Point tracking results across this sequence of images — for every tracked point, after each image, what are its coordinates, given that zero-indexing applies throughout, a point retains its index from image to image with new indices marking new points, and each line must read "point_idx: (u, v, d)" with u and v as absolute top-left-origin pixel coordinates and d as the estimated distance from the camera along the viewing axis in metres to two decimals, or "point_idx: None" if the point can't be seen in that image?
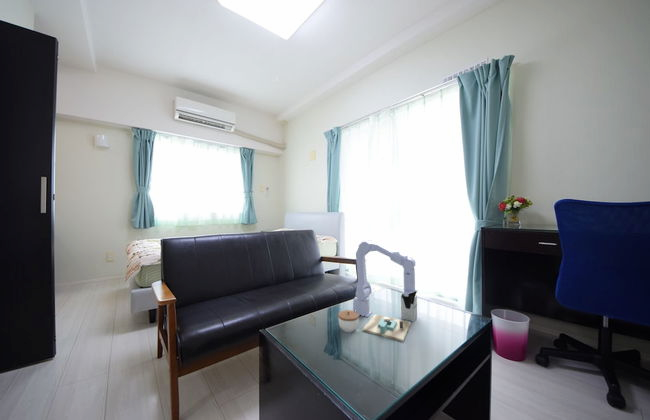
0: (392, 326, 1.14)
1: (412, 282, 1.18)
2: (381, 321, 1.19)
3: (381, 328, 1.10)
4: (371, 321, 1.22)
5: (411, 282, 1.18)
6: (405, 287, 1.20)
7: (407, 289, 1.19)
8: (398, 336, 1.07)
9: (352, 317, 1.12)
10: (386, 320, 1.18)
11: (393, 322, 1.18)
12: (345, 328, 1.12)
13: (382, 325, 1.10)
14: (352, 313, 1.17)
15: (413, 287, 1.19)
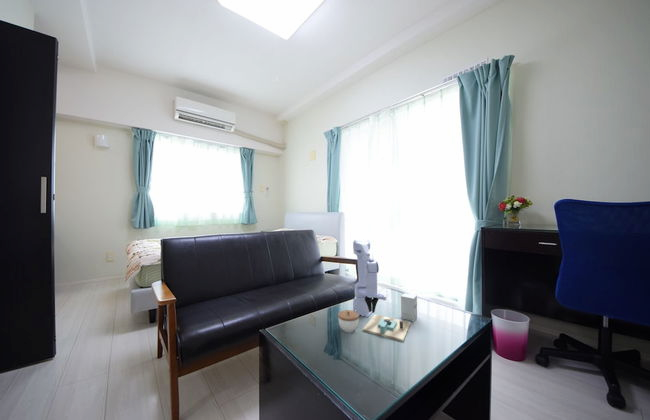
0: (392, 326, 1.14)
1: (366, 286, 1.14)
2: (381, 321, 1.19)
3: (381, 328, 1.10)
4: (371, 321, 1.22)
5: (366, 285, 1.15)
6: None
7: None
8: (398, 336, 1.07)
9: (352, 317, 1.12)
10: (386, 320, 1.18)
11: (393, 322, 1.18)
12: (345, 328, 1.12)
13: (382, 325, 1.10)
14: (352, 313, 1.17)
15: (367, 291, 1.14)
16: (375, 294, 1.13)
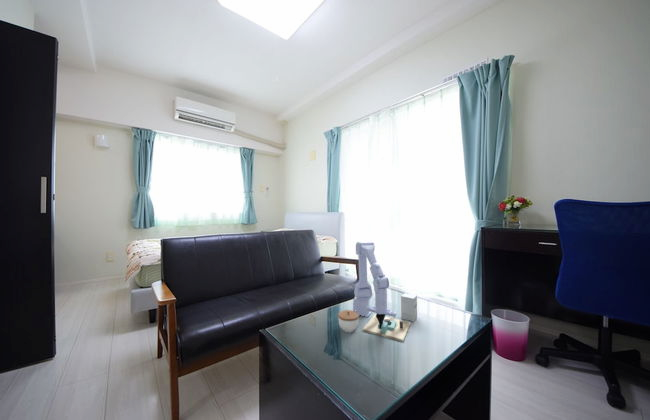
0: (392, 326, 1.14)
1: (376, 302, 1.12)
2: None
3: (382, 328, 1.09)
4: (371, 321, 1.22)
5: (375, 301, 1.12)
6: None
7: None
8: (398, 336, 1.07)
9: (352, 317, 1.12)
10: (386, 320, 1.18)
11: (393, 322, 1.18)
12: (345, 328, 1.12)
13: (383, 325, 1.10)
14: (352, 313, 1.17)
15: (377, 307, 1.11)
16: (385, 310, 1.10)
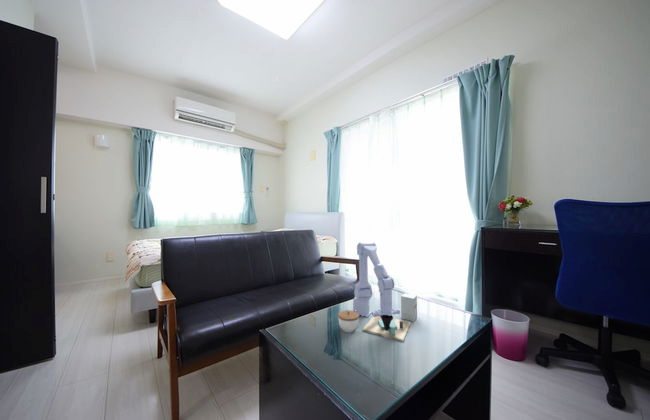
0: (395, 325, 1.15)
1: (384, 304, 1.09)
2: (381, 322, 1.18)
3: (392, 329, 1.08)
4: (371, 321, 1.22)
5: (383, 303, 1.09)
6: (380, 307, 1.12)
7: (380, 310, 1.11)
8: (398, 336, 1.07)
9: (352, 317, 1.12)
10: None
11: (391, 321, 1.20)
12: (345, 328, 1.12)
13: (392, 326, 1.09)
14: (352, 313, 1.17)
15: (386, 310, 1.09)
16: (392, 310, 1.10)
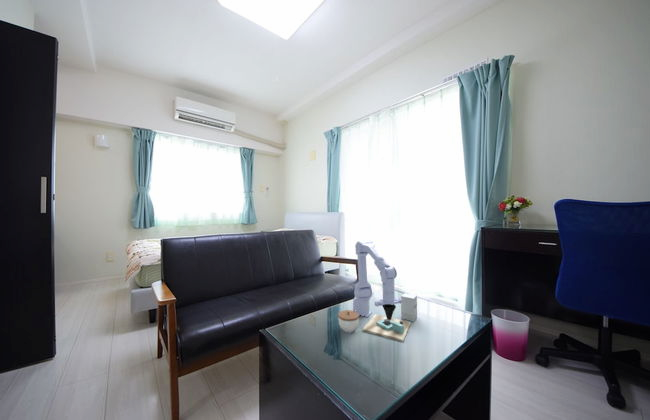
0: None
1: (387, 293, 1.09)
2: (382, 324, 1.16)
3: (401, 328, 1.10)
4: (371, 321, 1.22)
5: (386, 293, 1.09)
6: None
7: (383, 299, 1.11)
8: (398, 336, 1.07)
9: (352, 317, 1.12)
10: (386, 320, 1.18)
11: None
12: (345, 328, 1.12)
13: (401, 325, 1.11)
14: (352, 313, 1.17)
15: (388, 299, 1.09)
16: None
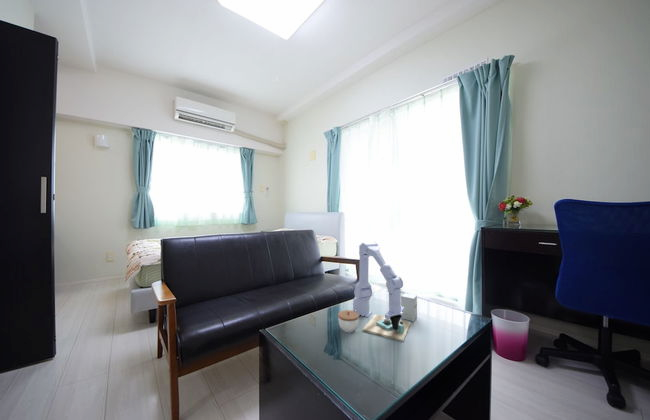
0: None
1: (396, 304, 1.09)
2: (382, 324, 1.16)
3: (402, 328, 1.10)
4: (371, 321, 1.22)
5: (395, 304, 1.09)
6: (389, 308, 1.11)
7: (391, 311, 1.10)
8: (398, 336, 1.07)
9: (352, 317, 1.12)
10: (386, 320, 1.18)
11: None
12: (345, 328, 1.12)
13: (401, 325, 1.11)
14: (352, 313, 1.17)
15: (397, 309, 1.09)
16: None
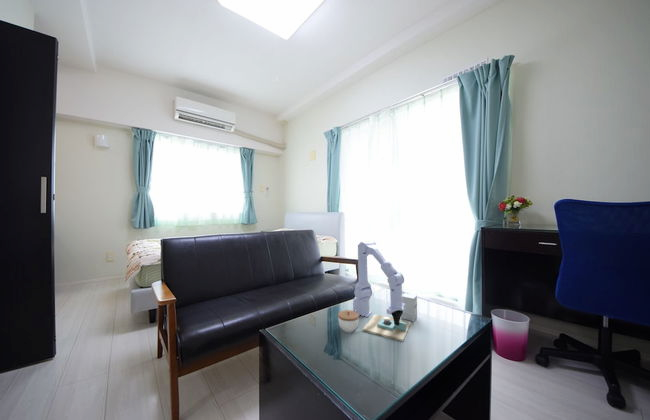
0: (393, 321, 1.19)
1: (397, 299, 1.11)
2: (384, 325, 1.15)
3: (405, 326, 1.12)
4: (371, 321, 1.22)
5: (396, 299, 1.11)
6: (391, 304, 1.13)
7: (392, 306, 1.12)
8: (398, 336, 1.07)
9: (352, 317, 1.12)
10: (386, 320, 1.18)
11: None
12: (345, 328, 1.12)
13: (404, 322, 1.13)
14: (352, 313, 1.17)
15: (399, 305, 1.11)
16: None
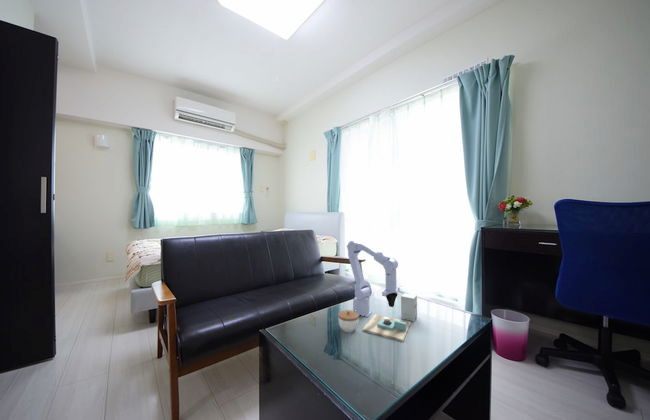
0: (393, 321, 1.19)
1: (392, 283, 1.19)
2: (384, 325, 1.15)
3: (405, 326, 1.12)
4: (371, 321, 1.22)
5: (391, 283, 1.19)
6: (386, 287, 1.22)
7: (387, 289, 1.20)
8: (398, 336, 1.07)
9: (352, 317, 1.12)
10: (386, 320, 1.18)
11: None
12: (345, 328, 1.12)
13: (404, 322, 1.13)
14: (352, 313, 1.17)
15: (393, 288, 1.19)
16: None
